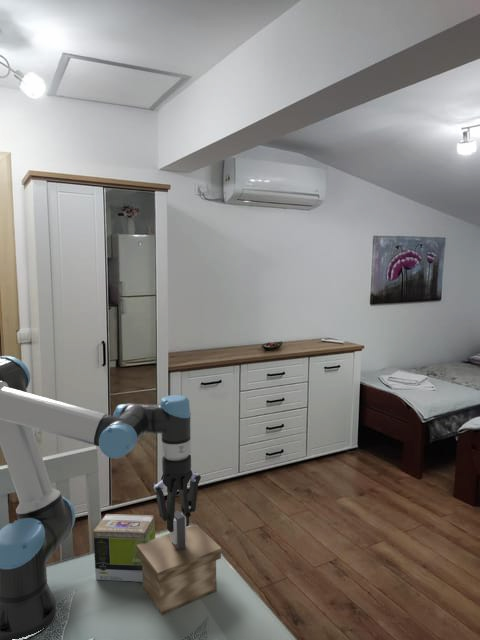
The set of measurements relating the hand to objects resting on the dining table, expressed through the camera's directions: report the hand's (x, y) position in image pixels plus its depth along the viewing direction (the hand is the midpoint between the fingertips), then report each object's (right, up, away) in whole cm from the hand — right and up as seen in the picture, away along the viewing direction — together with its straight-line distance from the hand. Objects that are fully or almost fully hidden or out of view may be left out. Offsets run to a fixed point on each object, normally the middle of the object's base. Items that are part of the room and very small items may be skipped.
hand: (178, 539), depth 126 cm
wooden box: (0, -14, +2) cm, 14 cm away
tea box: (-16, -14, +10) cm, 24 cm away
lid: (0, -5, 0) cm, 5 cm away
